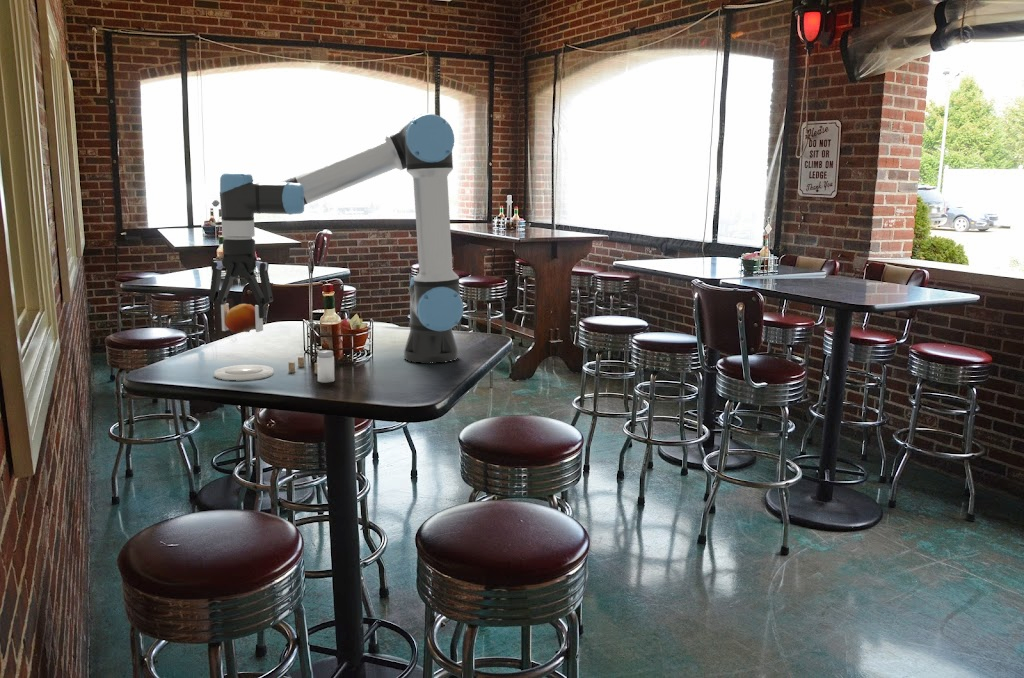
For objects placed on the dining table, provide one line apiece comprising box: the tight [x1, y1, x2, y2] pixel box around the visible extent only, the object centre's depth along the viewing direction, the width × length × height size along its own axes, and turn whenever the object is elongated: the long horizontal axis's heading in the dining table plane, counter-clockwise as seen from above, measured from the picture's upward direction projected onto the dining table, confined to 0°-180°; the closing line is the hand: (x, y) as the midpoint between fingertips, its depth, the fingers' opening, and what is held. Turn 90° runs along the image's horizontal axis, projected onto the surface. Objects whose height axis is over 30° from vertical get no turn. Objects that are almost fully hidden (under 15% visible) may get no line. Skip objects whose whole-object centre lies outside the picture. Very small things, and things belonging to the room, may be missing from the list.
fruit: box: [225, 303, 256, 334], centre depth 201 cm, size 8×8×8 cm
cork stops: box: [288, 356, 318, 375], centre depth 209 cm, size 8×8×2 cm
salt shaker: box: [316, 349, 335, 383], centre depth 197 cm, size 4×4×7 cm
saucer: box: [214, 364, 274, 382], centre depth 203 cm, size 14×14×1 cm
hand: (242, 330), depth 201 cm, fingers closed on fruit, 8 cm apart
